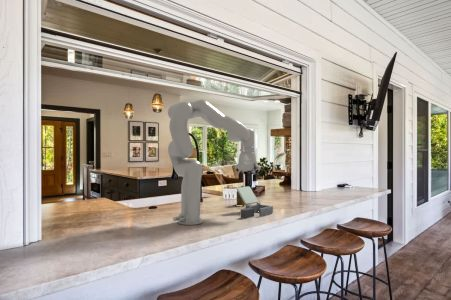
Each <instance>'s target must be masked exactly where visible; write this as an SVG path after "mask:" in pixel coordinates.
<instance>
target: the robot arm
mask: <svg viewBox="0 0 451 300" xmlns="http://www.w3.org/2000/svg"><path fill="white" fill-rule="evenodd" d="M167 116H168V118H169V119H170V120H169V125H168V126H169V127H168V128H169V133H170V136H171V140H172V141H170V143H169V144H168V147H167V153H168V156H169V158H170V161H171V165H172V168H173V169H174V171H175V173H176V175H178V176H179V177H182V181H181V187H180V188H181V189H180V194H181V195H180V196H181V197H180V213H179V214H178V216H174V217H173V218H172V220H173V221H174V222H176V221H177V223H178V225H184V226H196V225H201V224H203V222H204V219H203V218H201V186H202V185H201V182H202V176H203V165H202V164H201V162H200V161H198V160H197V159H193V158H190V157H192V155H193V153H194V145H193V143H192V139H191V137H190V134H189V130H188V122H189V120H190V119H195V118H201V119H203V120H204V121H205V122H207V123H208V124H209V125H210V126H212V127H213V128H215V129H219V130H224V131H227V133H226V137H227V139H228V140H229V141H230V142H233V143H239V142H240V149H239V152H240V153H239V155H238V163H237V164H235V165H234V168H235V170H236V172H237V174H238V181H244V175H243V172H244V171H247V172H251V173H252V182H257V180H258V174H259V172H260V171H261V169H262V166H261V165H259V164H258V163H257V156H256V152H255V130H254V129H251V128H248V127H246V125H244V124H243V123H242V122H240V121H238V120H237V119H235V118H232V117H231V116H228V115H226V114H224V113H222V112H221V111H220V110H219V109H217V108H216V107H215V106H213V105H212V104H211V103H210V102H208V101H207V100H206V99H198V100H194V101H190V102H189V101H181V102H178V103H175V104H172V105H170V106H169V107H168V110H167Z"/></svg>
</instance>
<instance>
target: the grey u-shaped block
mask: <svg viewBox="0 0 451 300" xmlns="http://www.w3.org/2000/svg"><path fill="white" fill-rule="evenodd" d="M245 208H254V214H255V212H256V213H258V214H259V217H261V218H262V217H265V215H266V216H269V215H273V214H274V206H273V205H267V204H261V202H258V203H255V204H248V205H246V206H245ZM258 211H259V212H258ZM272 213H273V214H272Z"/></svg>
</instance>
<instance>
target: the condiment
mask: <svg viewBox="0 0 451 300" xmlns="http://www.w3.org/2000/svg"><path fill="white" fill-rule="evenodd" d="M240 187H241V186H240ZM240 187H239V186H238V187H237V188H240ZM236 205H245V203H244V202H243V200H242V198H241V196H240V194H239V192H238V191H237V190H236Z"/></svg>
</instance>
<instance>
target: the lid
mask: <svg viewBox="0 0 451 300" xmlns="http://www.w3.org/2000/svg"><path fill="white" fill-rule="evenodd" d="M237 191H238V192H239V194H240V196H241V198H242V200H243V202H244V203H245V205H254V204H257V203H259V199H258V198H257V196H256V194H255V193H254V192H253V189H252V188H251V187H250V186H248V185H247V186H240V188H238V187H237V188H236V192H237Z"/></svg>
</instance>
